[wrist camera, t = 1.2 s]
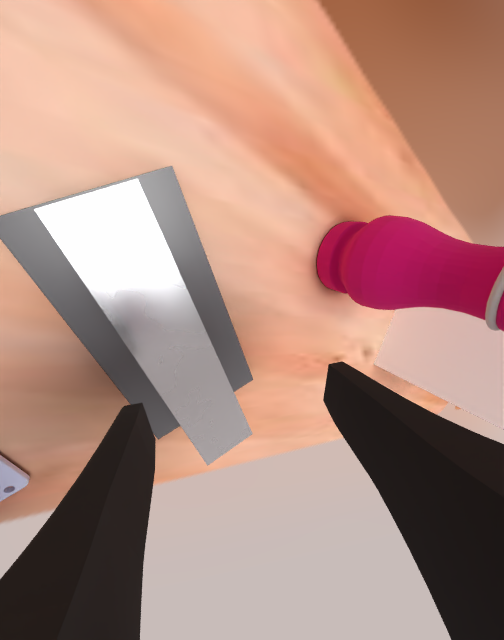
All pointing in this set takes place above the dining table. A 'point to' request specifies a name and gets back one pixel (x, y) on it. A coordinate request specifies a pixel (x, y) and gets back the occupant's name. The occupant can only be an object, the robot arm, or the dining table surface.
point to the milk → (448, 358)
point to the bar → (149, 308)
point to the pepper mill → (413, 268)
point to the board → (89, 319)
